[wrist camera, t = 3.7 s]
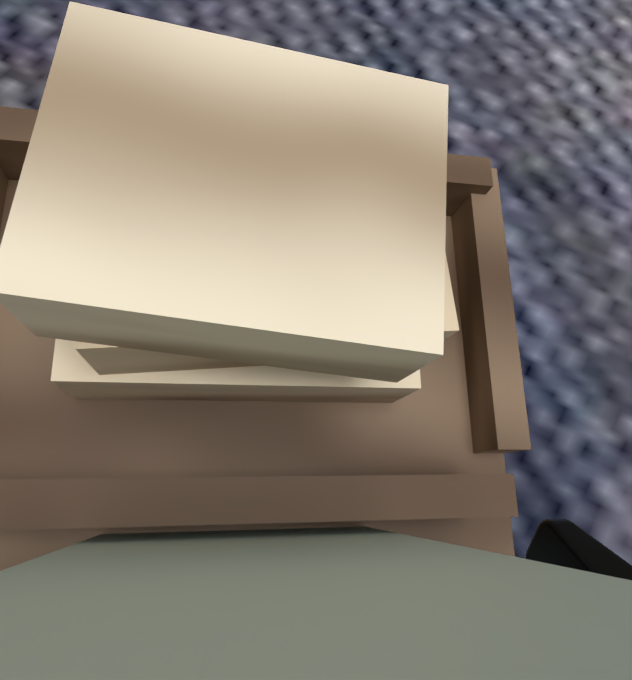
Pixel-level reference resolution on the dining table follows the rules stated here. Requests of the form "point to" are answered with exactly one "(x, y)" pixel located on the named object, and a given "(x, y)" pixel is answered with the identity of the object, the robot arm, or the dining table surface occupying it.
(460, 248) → the tray
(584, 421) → the dining table surface
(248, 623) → the sage panel
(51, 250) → the offcut stack
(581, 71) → the dining table surface
